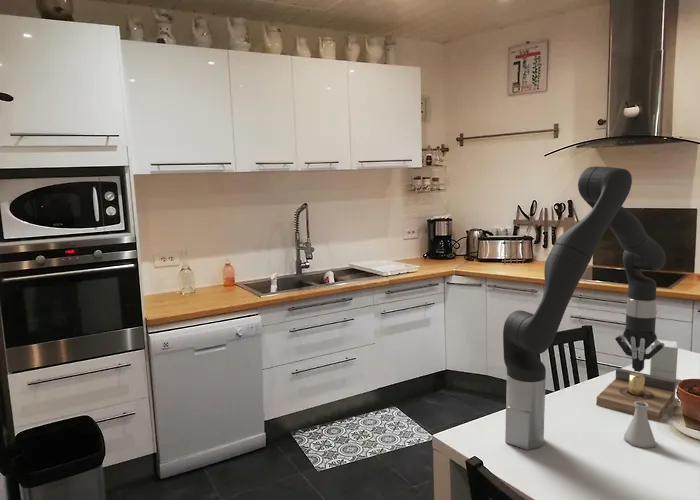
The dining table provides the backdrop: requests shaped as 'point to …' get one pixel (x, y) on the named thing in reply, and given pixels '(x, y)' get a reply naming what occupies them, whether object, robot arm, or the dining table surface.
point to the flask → (640, 428)
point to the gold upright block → (636, 384)
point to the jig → (655, 394)
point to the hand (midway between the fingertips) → (638, 370)
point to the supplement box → (665, 360)
